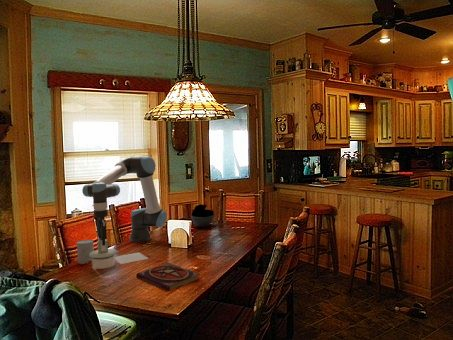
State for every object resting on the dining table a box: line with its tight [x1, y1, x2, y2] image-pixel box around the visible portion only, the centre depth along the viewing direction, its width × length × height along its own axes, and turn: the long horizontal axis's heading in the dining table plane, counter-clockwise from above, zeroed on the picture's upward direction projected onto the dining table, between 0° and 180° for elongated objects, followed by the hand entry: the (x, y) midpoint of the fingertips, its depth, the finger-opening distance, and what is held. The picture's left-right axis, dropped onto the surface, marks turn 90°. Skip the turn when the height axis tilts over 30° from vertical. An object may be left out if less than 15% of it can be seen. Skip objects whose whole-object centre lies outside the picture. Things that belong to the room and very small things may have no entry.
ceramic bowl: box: [91, 255, 116, 271], centre depth 214 cm, size 12×12×6 cm
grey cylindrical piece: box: [76, 239, 95, 265], centre depth 226 cm, size 10×10×12 cm
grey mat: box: [115, 251, 149, 265], centre depth 227 cm, size 17×17×1 cm
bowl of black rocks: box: [190, 204, 216, 228], centre depth 313 cm, size 20×20×19 cm
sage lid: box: [89, 239, 117, 258], centre depth 213 cm, size 15×15×8 cm
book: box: [135, 262, 201, 292], centre depth 192 cm, size 28×21×5 cm
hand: (102, 249), depth 213 cm, fingers closed on sage lid, 3 cm apart
